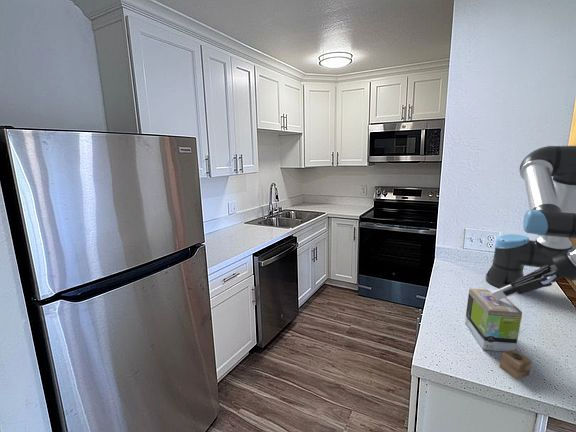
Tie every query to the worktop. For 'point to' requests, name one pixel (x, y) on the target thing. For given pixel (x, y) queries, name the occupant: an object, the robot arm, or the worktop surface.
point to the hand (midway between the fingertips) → (495, 296)
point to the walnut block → (515, 364)
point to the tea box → (492, 320)
